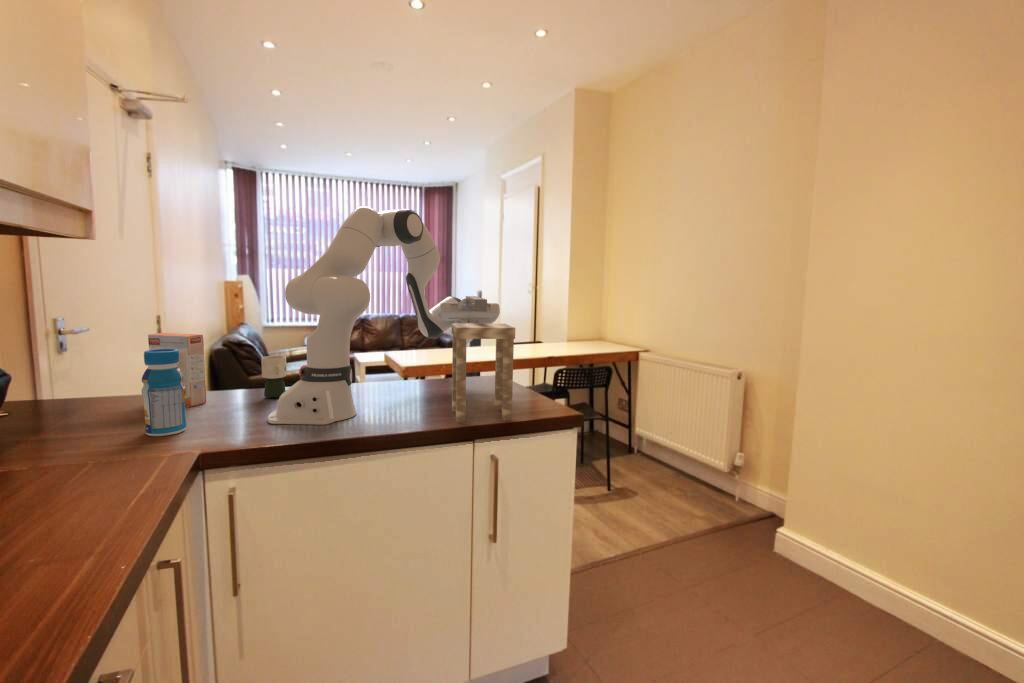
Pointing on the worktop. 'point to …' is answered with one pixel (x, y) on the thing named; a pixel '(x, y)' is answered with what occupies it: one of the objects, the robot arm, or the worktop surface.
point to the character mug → (274, 375)
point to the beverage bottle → (163, 393)
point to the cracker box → (186, 362)
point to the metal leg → (476, 303)
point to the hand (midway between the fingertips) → (472, 300)
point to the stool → (502, 368)
